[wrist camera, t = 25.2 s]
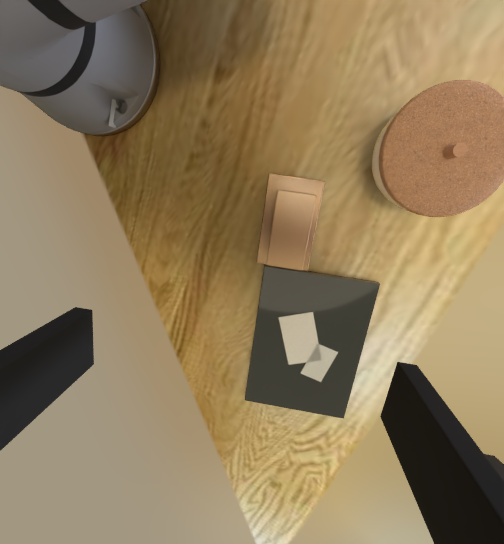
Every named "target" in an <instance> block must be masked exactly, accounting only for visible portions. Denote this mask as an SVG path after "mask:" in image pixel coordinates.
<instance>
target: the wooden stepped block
mask: <svg viewBox="0 0 504 544" xmlns="http://www.w3.org/2000/svg"><path fill="white" fill-rule="evenodd" d="M324 185H325V181H321V180H314V179H307V178H299V177H292V176H285V175H277V174H269V179H268V186H267V193H266V200H265V207H264V214H263V221H262V228H261V235H260V242H259V249H258V256H257V263H262V264H266V265H270V266H276V267H282V268H289V269H295V270H301V271H302V270H306V271H307V270H308V266H309V261H310V256H311V251H312V246H313V241H314V236H315V231H316V226H317V221H318V216H319V211H320V205H321V200H322V195H323V190H324Z"/></svg>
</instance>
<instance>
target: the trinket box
mask: <svg viewBox="0 0 504 544" xmlns="http://www.w3.org/2000/svg"><path fill="white" fill-rule="evenodd" d="M372 172H373V177H374V180H375V183H376V185H377V187H378V188H379V190H380V191H381V193H382V194H383V195H384V196H385V197H386V198H387V199H388V200H389V201H390V202H392V203H393V204H395V205H397V206H398V207H400V208H402V209H405V210H408V211H410V212H413V213H416V214H419V215H424V216H429V217H445V216H452V215H456V214H460V213H462V212H465V211H467V210H470V209H472V208H473V207H475V206H477V205H479V204H480V203H482V202H483V201H484V200H486V199H487V198H488V197H489V196H490V195H491V194H492V193H493V192H495V191H496V190H497V189H498V187H499V186H500V185H501V183H502V182H503V181H504V97H503V96H502V95H501V94H500V93H499V92H498V91H496V90H495V89H493V88H492V87H490V86H488V85H485V84H483V83H480V82H476V81H470V80H454V81H449V82H444V83H441V84H438V85H435V86H433V87H431V88H429V89H427V90H425V91H423V92H421V93H420V94H418V95H417V96H415V97H414V98H413V99H411V100H410V101H409V102H408V103H407V104H406V105H404V106H403V107H402V108H401V109H400V110H399V111H398V112H397V113H396V114H395V115H394V116H393V117H392V118H391V119H390V121H389V122H388V123H387V124H386V125H385V127H384V128H383V130H382V132H381V133H380V135H379V137H378V139H377V142H376V144H375V147H374V151H373V156H372Z"/></svg>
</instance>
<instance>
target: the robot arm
mask: <svg viewBox="0 0 504 544" xmlns="http://www.w3.org/2000/svg"><path fill="white" fill-rule="evenodd" d="M145 1H148V0H0V86H3V87H6V88H9V89H12V90H15V91H17V92H20V93H21V94H23V95H24V96H25V97H26V98H28V99H29V100H30V101H31V102H33V103H34V104H35V105H36V106H37V107H39V108H40V109H41V110H42V111H43V112H45V113H46V114H47V115H48V116H50V117H51V118H53V119H54V120H55V121H57V122H59V123H60V124H62V125H64V126H66V127H68V128H70V129H73V130H75V131H78V132H82V133H85V134H89V135H94V136H108V135H114V134H117V133H120V132H122V131H125V130H126V129H128V128H130V127H131V126H133V125H134V124H135V123H136V122H138V121H139V120H140V119H141V117H142V116H143V115H144V114H145V112H146V111H147V110H148V108H149V106H150V104H151V102H152V100H153V98H154V95H155V93H156V89H157V85H158V80H159V72H160V57H159V49H158V43H157V39H156V35H155V33H154V30H153V27H152V25H151V22H150V20H149V18H148V16H147V15H146V13H145V11H144V10H143V8H142V7H141V5H140V3H143V2H145ZM92 326H93V322H92V310H89V309H83V308H77V307H75V308H73V309H72V310H70V311H68V312H66V313H65V314H63V315H61V316H59V317H58V318H56V319H54V320H52V321H51V322H49V323H47V324H45V325H44V326H42V327H40V328H38V329H37V330H35V331H33V332H31V333H29V334H28V335H26V336H24V337H23V338H21V339H19V340H17V341H15V342H14V343H12V344H10V345H8V346H7V347H5V348H3V349H1V350H0V450H2V449H3V448H4V447H5V446H6V445H7V444H8V443H9V442H10V441H11V440H12V439H13V438H15V437H16V436H17V435H18V434H19V433H20V432H21V431H22V430H23V429H24V428H25V427H26V426H27V425H29V424H30V423H31V422H32V421H33V420H34V419H35V418H36V417H37V416H38V415H39V414H40V413H42V412H43V411H44V410H45V409H46V408H47V407H48V406H49V405H50V404H51V403H52V402H53V401H55V400H56V399H57V398H58V397H59V396H60V395H61V394H62V393H63V392H64V391H65V390H66V389H67V388H69V387H70V386H71V385H72V384H73V383H74V382H75V381H76V380H77V379H78V378H79V377H80V376H82V375H83V374H84V373H85V372H86V371H87V370H88V369H89V368H90V367H91V366H92V365H93V364H94V360H93V359H94V358H93V327H92ZM381 419H382V421H383V423H384V426H385V428H386V431H387V433H388V435H389V437H390V440H391V443H392V445H393V447H394V449H395V452H396V454H397V457H398V459H399V461H400V464H401V466H402V468H403V471H404V473H405V475H406V478H407V480H408V483H409V485H410V487H411V490H412V492H413V495H414V497H415V499H416V501H417V504H418V506H419V509H420V511H421V513H422V516H423V518H424V521H425V523H426V525H427V528H428V530H429V532H430V535H431V537H432V539H433V542H434V544H504V464H503V463H502V462H500V461H499V460H498V459H497V458H496V457H495V456H491V455H486V454H483V453H482V451H481V450H480V449H479V447H478V446H477V445H476V443H475V442H474V441H473V439H472V438H471V437H470V435H469V434H468V433H467V431H466V430H465V429H464V427H463V426H462V425H461V423H460V422H459V421H458V420H457V418H456V417H455V416H454V414H453V413H452V411H451V410H450V409H449V408H448V406H447V405H446V404H445V402H444V401H443V400H442V398H441V397H440V396H439V394H438V393H437V392H436V390H435V389H434V388H433V386H432V385H431V383H430V382H429V381H428V380H427V378H426V377H425V376H424V374H423V373H422V372H421V370H420V369H419V368H418V366H417V365H413V364H407V363H401V362H397V366H396V369H395V372H394V375H393V378H392V381H391V385H390V388H389V391H388V394H387V397H386V401H385V404H384V407H383V410H382V413H381Z"/></svg>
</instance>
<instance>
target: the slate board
mask: <svg viewBox="0 0 504 544" xmlns="http://www.w3.org/2000/svg"><path fill="white" fill-rule="evenodd" d="M379 286H380V283H379V282H376V281H369V280H363V279H356V278H350V277H343V276H337V275H330V274H324V273H317V272H311V271H304V270H302V271H301V270H295V269H289V268H282V267H276V266H270V265H265V267H264V274H263V280H262V287H261V294H260V301H259V307H258V314H257V321H256V328H255V334H254V341H253V348H252V354H251V361H250V368H249V375H248V381H247V388H246V395H245V400H246V401H252V402H257V403H263V404H268V405H274V406H279V407H284V408H290V409H295V410H301V411H306V412H312V413H317V414H323V415H328V416H333V417H339V418H344V415H345V411H346V408H347V404H348V400H349V397H350V393H351V389H352V385H353V382H354V378H355V374H356V371H357V367H358V363H359V360H360V356H361V352H362V348H363V345H364V341H365V337H366V334H367V330H368V326H369V323H370V319H371V315H372V312H373V308H374V304H375V300H376V297H377V293H378V289H379Z"/></svg>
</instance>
